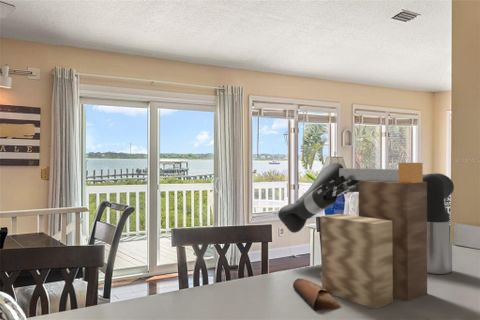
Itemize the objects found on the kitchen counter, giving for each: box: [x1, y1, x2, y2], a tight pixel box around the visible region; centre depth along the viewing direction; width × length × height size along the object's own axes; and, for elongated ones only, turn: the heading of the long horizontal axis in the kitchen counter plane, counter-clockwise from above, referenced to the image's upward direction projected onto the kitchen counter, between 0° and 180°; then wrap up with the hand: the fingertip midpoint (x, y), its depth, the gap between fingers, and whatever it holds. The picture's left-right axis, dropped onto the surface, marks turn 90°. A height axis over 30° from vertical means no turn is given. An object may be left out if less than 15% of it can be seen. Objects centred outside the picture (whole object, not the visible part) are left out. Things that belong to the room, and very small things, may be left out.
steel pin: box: [339, 162, 424, 183], centre depth 126 cm, size 26×6×6 cm, turn 37°
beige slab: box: [321, 213, 394, 309], centre depth 117 cm, size 18×8×22 cm, turn 37°
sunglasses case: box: [292, 277, 343, 311], centre depth 116 cm, size 18×7×7 cm
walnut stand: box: [358, 180, 428, 302], centre depth 122 cm, size 16×10×32 cm, turn 37°
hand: (352, 177), depth 133 cm, fingers open, 8 cm apart
